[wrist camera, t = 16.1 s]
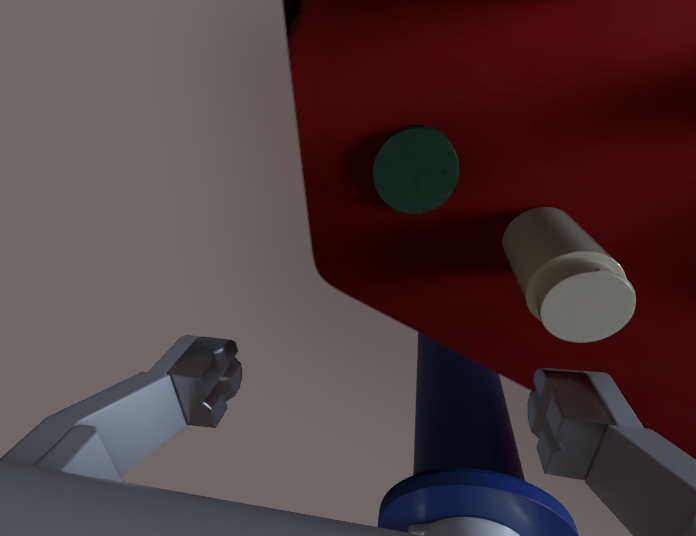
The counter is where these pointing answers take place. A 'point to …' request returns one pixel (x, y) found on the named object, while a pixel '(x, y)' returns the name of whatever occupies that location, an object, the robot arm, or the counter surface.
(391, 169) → the lid
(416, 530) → the robot arm
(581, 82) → the counter surface
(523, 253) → the white jar
